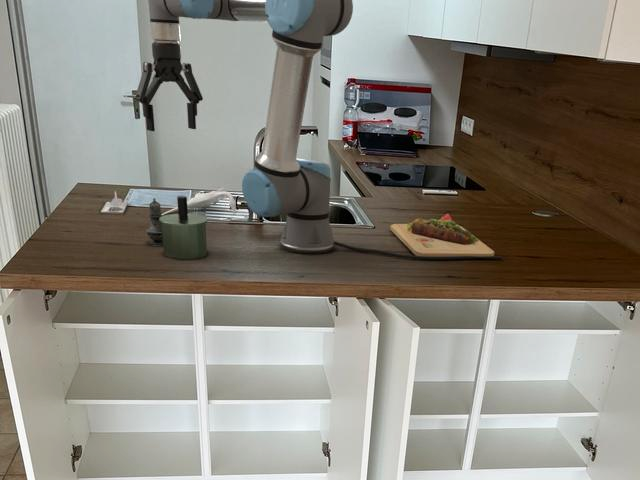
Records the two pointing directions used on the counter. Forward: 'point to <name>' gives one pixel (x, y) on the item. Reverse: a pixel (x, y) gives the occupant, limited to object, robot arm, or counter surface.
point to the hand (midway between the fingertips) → (171, 129)
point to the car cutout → (115, 206)
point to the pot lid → (182, 216)
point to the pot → (184, 241)
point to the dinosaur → (208, 200)
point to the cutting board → (439, 238)
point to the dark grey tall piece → (155, 225)
